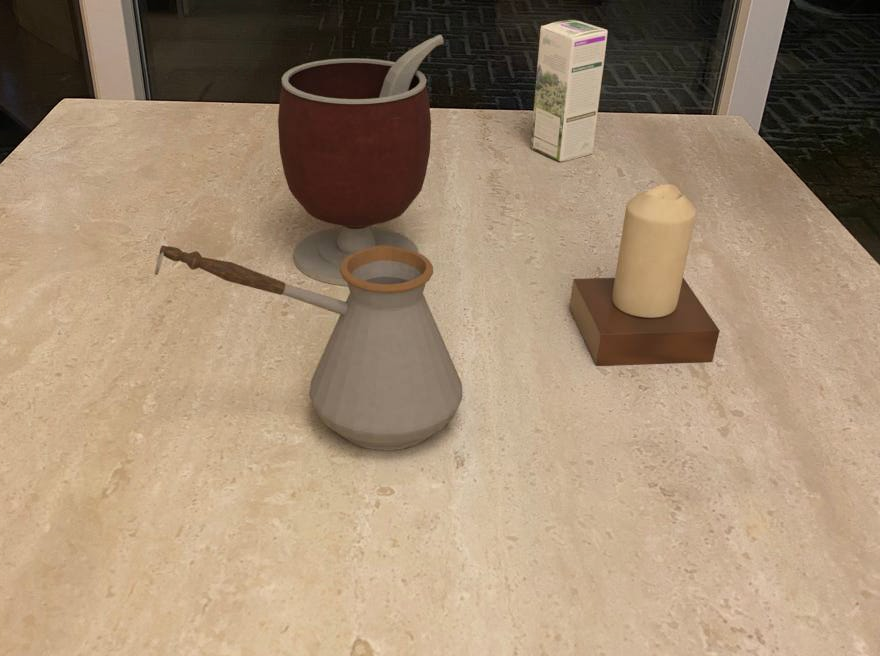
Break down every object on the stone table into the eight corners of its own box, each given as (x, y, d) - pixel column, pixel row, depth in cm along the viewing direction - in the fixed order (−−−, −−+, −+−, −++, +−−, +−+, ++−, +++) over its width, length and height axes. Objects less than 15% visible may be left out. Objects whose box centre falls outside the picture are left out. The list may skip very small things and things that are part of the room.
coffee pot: (448, 377, 81) (457, 200, 72) (473, 461, 72) (486, 271, 63) (183, 391, 79) (157, 210, 70) (174, 479, 70) (143, 286, 61)
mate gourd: (314, 301, 92) (305, 74, 79) (267, 241, 101) (252, 31, 89) (465, 272, 97) (478, 54, 84) (406, 217, 107) (410, 16, 94)
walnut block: (676, 305, 92) (682, 275, 90) (712, 361, 84) (720, 330, 82) (569, 308, 91) (573, 278, 89) (595, 366, 83) (600, 334, 81)
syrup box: (594, 154, 123) (611, 28, 114) (558, 163, 120) (572, 35, 111) (563, 140, 126) (577, 17, 117) (527, 149, 124) (539, 23, 115)
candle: (628, 282, 89) (646, 172, 83) (686, 300, 86) (710, 187, 80) (600, 306, 85) (617, 192, 79) (660, 325, 83) (683, 209, 77)
